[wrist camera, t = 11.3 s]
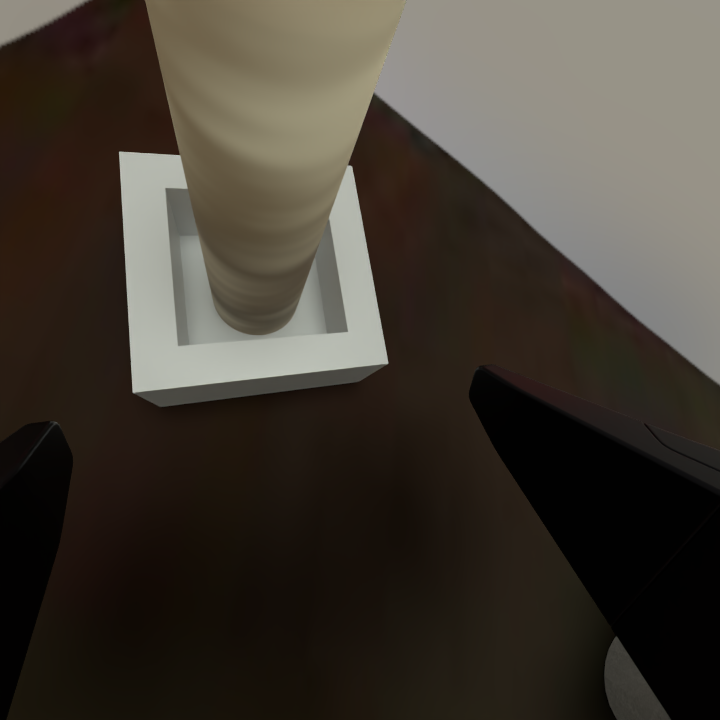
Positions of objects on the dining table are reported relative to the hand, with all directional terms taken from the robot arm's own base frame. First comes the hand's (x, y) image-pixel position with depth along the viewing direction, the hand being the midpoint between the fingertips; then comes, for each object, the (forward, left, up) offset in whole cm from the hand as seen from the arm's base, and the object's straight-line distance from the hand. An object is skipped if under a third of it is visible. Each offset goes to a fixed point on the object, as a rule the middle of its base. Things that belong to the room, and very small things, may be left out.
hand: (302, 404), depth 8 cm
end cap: (+1, -6, -10) cm, 12 cm away
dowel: (+1, -6, -9) cm, 11 cm away
